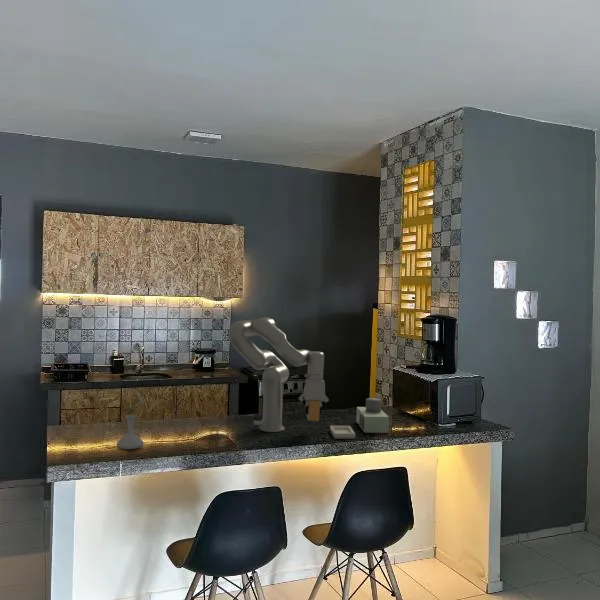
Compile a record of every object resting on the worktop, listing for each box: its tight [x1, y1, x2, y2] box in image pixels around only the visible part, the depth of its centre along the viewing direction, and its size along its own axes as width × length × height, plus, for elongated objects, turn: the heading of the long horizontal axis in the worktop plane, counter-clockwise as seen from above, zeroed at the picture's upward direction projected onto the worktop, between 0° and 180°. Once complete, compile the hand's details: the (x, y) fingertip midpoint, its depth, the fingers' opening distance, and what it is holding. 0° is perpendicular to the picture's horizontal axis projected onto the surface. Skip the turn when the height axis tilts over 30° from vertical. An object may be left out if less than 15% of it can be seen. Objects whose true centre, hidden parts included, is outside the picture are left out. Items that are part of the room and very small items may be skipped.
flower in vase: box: [116, 388, 145, 450], centre depth 260 cm, size 13×11×25 cm
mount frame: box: [329, 425, 356, 440], centre depth 295 cm, size 10×16×2 cm, turn 4°
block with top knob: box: [356, 397, 390, 434], centre depth 313 cm, size 13×24×14 cm, turn 5°
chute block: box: [306, 401, 320, 422], centre depth 294 cm, size 5×11×9 cm, turn 5°
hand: (312, 413), depth 294 cm, fingers closed on chute block, 5 cm apart
